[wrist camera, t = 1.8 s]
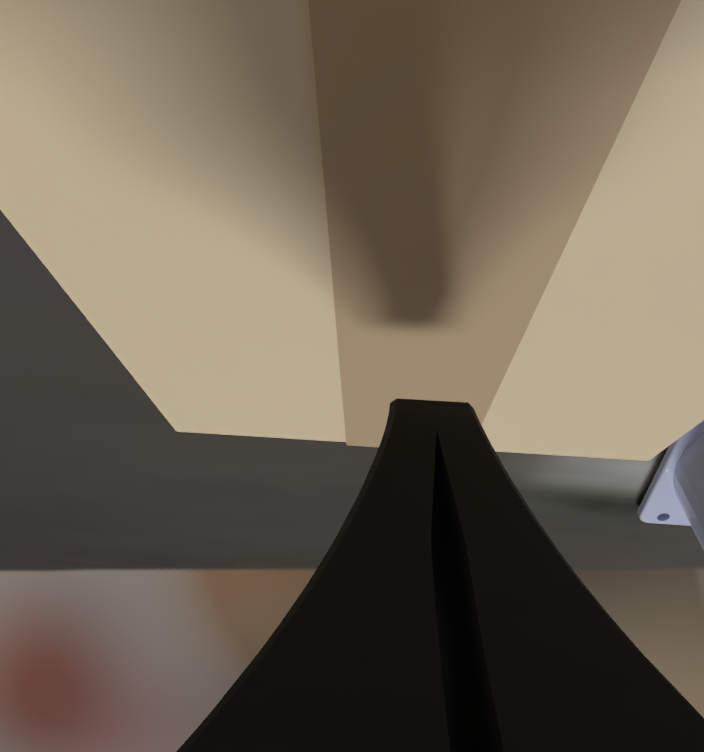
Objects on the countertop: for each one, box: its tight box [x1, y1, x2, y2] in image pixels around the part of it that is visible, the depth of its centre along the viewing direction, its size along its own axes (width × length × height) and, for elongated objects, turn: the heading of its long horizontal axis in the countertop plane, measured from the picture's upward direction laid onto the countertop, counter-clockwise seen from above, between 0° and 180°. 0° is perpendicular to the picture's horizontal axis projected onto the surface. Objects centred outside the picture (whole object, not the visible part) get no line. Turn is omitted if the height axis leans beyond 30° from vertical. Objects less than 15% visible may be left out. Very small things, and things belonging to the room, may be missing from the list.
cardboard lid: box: [0, 0, 704, 461], centre depth 10 cm, size 14×15×1 cm
